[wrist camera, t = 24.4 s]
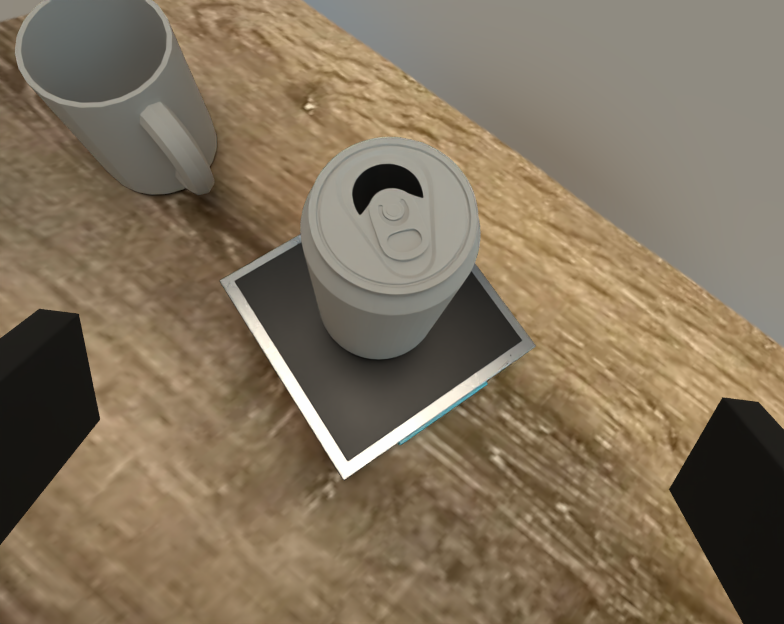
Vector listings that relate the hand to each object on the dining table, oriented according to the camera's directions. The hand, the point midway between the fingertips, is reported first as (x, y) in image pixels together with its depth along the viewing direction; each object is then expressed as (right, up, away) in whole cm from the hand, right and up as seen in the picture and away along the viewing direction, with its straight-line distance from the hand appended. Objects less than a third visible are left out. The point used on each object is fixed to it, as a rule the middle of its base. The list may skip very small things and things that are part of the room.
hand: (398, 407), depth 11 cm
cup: (-14, +12, +22) cm, 29 cm away
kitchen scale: (-1, +1, +20) cm, 20 cm away
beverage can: (-1, +2, +18) cm, 18 cm away
